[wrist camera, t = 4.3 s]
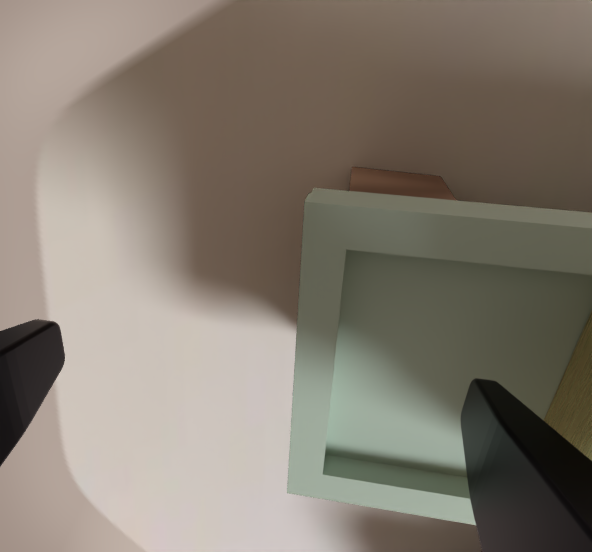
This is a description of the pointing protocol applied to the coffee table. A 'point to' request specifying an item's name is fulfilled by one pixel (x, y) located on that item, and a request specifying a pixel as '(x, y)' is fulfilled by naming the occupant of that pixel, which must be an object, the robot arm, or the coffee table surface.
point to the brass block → (575, 397)
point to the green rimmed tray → (423, 337)
